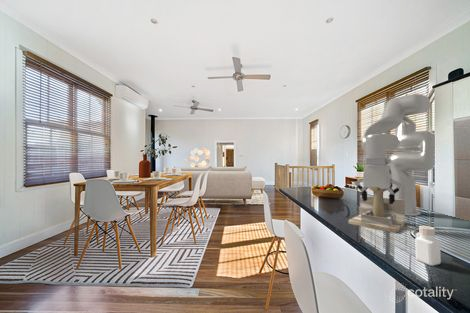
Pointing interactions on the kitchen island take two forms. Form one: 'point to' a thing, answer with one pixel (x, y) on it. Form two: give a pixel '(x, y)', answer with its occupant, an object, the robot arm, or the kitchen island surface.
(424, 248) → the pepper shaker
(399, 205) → the hinge stand
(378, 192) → the handle
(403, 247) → the kitchen island surface
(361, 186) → the robot arm
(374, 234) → the kitchen island surface
